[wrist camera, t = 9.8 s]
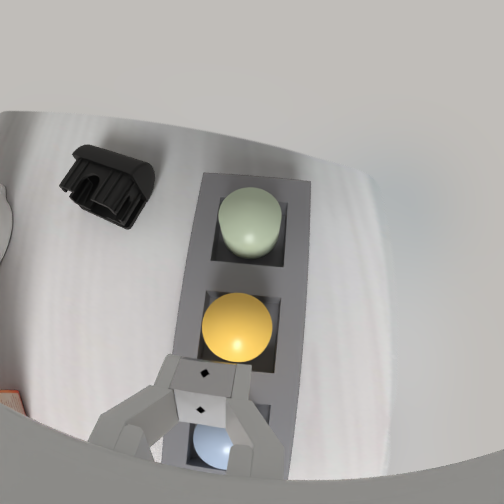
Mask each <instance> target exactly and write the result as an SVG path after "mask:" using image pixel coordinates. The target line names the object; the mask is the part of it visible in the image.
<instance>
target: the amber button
mask: <svg viewBox="0 0 504 504" xmlns="http://www.w3.org/2000/svg"><path fill="white" fill-rule="evenodd" d="M202 333H203V337H204V340H205V342H206V344H207V346H208V347H209V349H210V350H211V351H212V352H213V353H214V354H216V355H217V356H218V357H220V358H222V359H225V360H228V361H233V362H246V361H250V360H252V359H254V358H256V357H258V356H259V355H260V354H261V353H262V352H263V351H264V350H265V348H266V346H267V345H268V343H269V341H270V338H271V335H272V320H271V316H270V314H269V312H268V310H267V308H266V307H265V305H264V304H263V303H262V302H261V301H259V300H258V299H257V298H255V297H253V296H251V295H248V294H245V293H230V294H226V295H223V296H221V297H219V298H218V299H216V300H215V301H214V302H213V303H212V304H211V305H210V306H209V307H208V309H207V310H206V312H205V314H204V317H203V321H202Z"/></svg>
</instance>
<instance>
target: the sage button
mask: <svg viewBox="0 0 504 504" xmlns="http://www.w3.org/2000/svg"><path fill="white" fill-rule="evenodd" d="M218 217H219V223H220V227H221V231H222V236H223V240H224V243H225V245H226V247H227V248H228V249H229V250H230V251H231V252H232V253H233V254H234V255H236V256H238V257H241V258H244V259H257V258H260V257H263V256H265V255H267V254H268V253H269V252H270V251H272V249H273V248H274V247H275V245H276V243H277V240H278V236H279V230H280V224H281V217H282V213H281V208H280V205H279V203H278V201H277V200H276V199H275V198H274V197H273V196H272V195H271V194H270V193H268V192H267V191H265V190H262V189H259V188H254V187H247V188H241V189H238V190H236V191H234V192H232V193H230V194H229V195H228V196H227V197H226V198H225V199H224V200H223V202H222V204H221V206H220V208H219V214H218Z"/></svg>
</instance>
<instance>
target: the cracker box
mask: <svg viewBox="0 0 504 504" xmlns="http://www.w3.org/2000/svg"><path fill="white" fill-rule="evenodd" d="M0 403H2V404H4V405H6V406H7V407H9V408H11V409H13V410H15V411H17V412H19V413H21V414H23V415H25V416H26V414H25V411H24V408H23V404H22V401H21V398H20V394H19V391H18V390H0Z"/></svg>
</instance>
